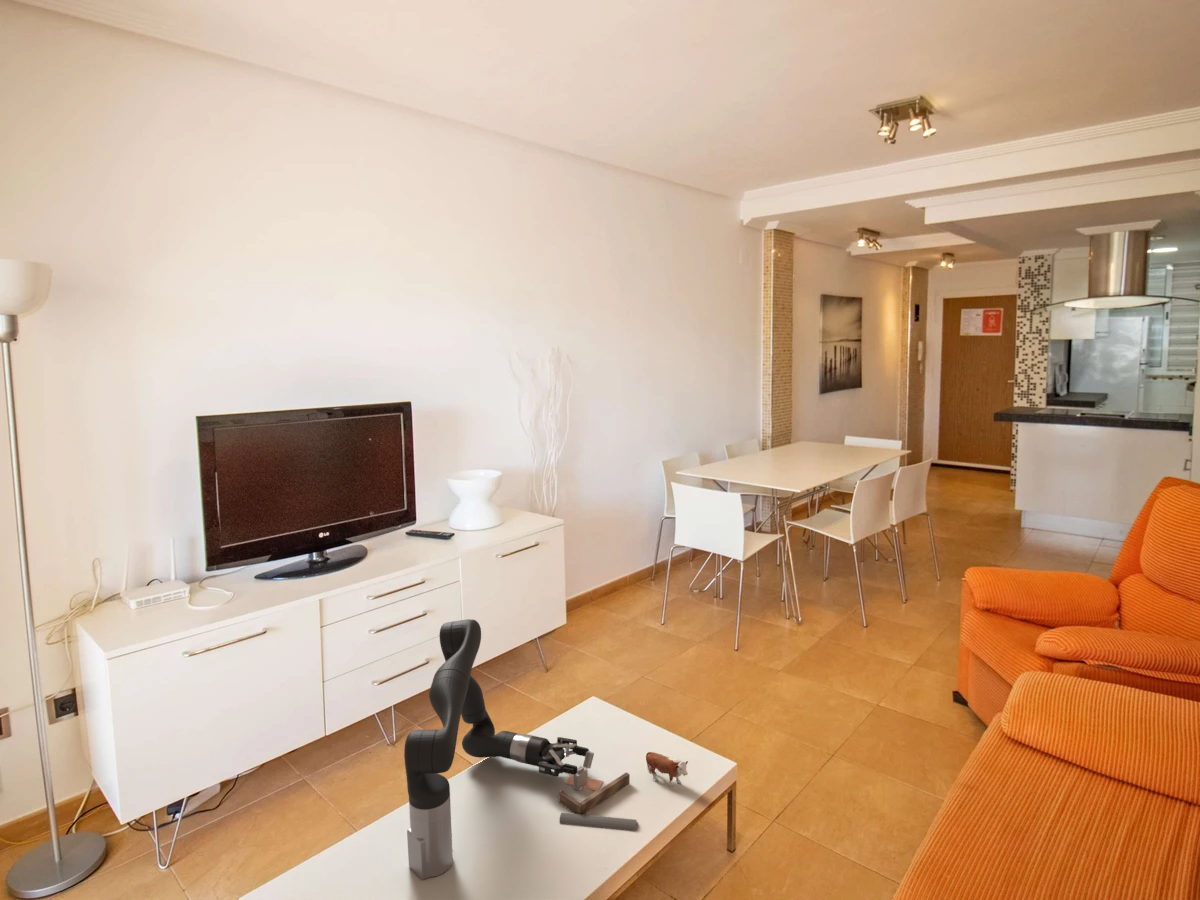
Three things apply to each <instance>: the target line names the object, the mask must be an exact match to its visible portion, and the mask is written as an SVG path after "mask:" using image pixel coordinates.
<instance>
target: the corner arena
mask: <svg viewBox="0 0 1200 900" xmlns="http://www.w3.org/2000/svg"><path fill="white" fill-rule="evenodd" d="M629 785H630V773H628V772H624V773H623V774H621V775H620V776H619V777H616V778H615V779H613V780H612V781H611V782H609V783H608V784H606V785H604V786H603V787H600V788H599V790H598V791H594V793H592V794H590V795H589V796H588V797H587V798H584V799H583V800H582V801H578V800H577V799H576V798H574V797H573V796H571V795H569V794H568V793H567V792H565V790H561V791H559V793H558V803H559V804H560V805H562V806H563V807H565V808H566V809H567V810H569V811H570V812H571V813H572V814H582V815H587V813H589V812H590V811H592V810H593V809H595V808H596V807H598V806H599V805H601V804H602V803H604V802H605V801H606V800H608V799H609V798H610V797H612V796H614V795H616V794H617V793H619V791H621V790H623V789H625V788H626V787H627V786H629Z"/></svg>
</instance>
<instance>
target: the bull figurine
mask: <svg viewBox="0 0 1200 900" xmlns="http://www.w3.org/2000/svg"><path fill="white" fill-rule="evenodd" d="M645 761H646V765H647V766H646V767H647V771H648V773H649V775H652V779H653V780H654V782H658V781H659V779H658V777H657V775H656V774H657V772H656V769H657V771H658V772H660V773H661V774H664V775H665V774H667V775H668V777H669V781H668V783H667V784H668V785H669V787H673V786H674V784H673V779H674V778H676V780H675V782H676V784H678V785H679V784H681V780H680V778H679V777H680V776H682V775H683V776H684V777H685V776H688V771H687V765H688V763H689V760H686V761H681V760H680V759H679V758H674V757H669V756H666V755H663V754H661V753H657V752H653V751H648V752H647V753H646V755H645Z"/></svg>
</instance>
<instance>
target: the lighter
mask: <svg viewBox="0 0 1200 900" xmlns="http://www.w3.org/2000/svg"><path fill="white" fill-rule="evenodd" d="M594 755H595V752H594V751H590V750H589V751H587V752H586V756H584V760H583V763H582V764H583V765H580V766H579V767H577V774H576V775H574V786H573V789H575V790H576V791H580V790H581V789H582V787H583V786H585V785H586V784H587V777H588V769H591V768H592V763H593V760H594V759H593V758H594Z"/></svg>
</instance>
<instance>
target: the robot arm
mask: <svg viewBox="0 0 1200 900" xmlns="http://www.w3.org/2000/svg"><path fill="white" fill-rule="evenodd" d="M438 635H439V645H440V649H441V652H442V655H443V658H444V660H445V662H443V664H441V665H440V666H439V668H438V669H437V671H436V672H435V673H434V676H433V678H432V682H431V685H430V688H429V692H428V694H429V695H428V699H429V702H430V704H431V707H432V708H433V710H434V712H435V714H436V715H437V717H438V718H439V720H440V721H441V724H442V726H443V727H442V728H438V729H413V730H412V731H410V732H409V733H408V734H407V736H406V738H405V743H404V749H403V750H404V751H403V752H404V754H403V756H404V766H405V774H406V787H407V794H408V804H409V805H408V809H409V824H410V827H409V829H407V830H406V835H407V836H406V837H407V854H408V867H409V868H410V869H411V870H412V871H413V872H414V873H415V874H416V876H418V878H420V880H422V881H423V880H425V879H427V878H435V877H438V876H440V875H442V874H443V873H445V872H447V871H448V870H449V868H450V867H451V866H452V864H453V860H454V858H453V853H454V850H453V833H452V813H451V812H452V810H451V807H452V806H451V790H450V789H451V788H450V787H451V786H450V782H449V780H448V779H447V778H446V777H445V776H444V775H442V774H443V773H447V772H448V771H449V770H450V769H451V767H452V765H453V763H454V759H455V752H456V745H457V740H458V735H459V733H458V732H459V726H460V720H461V718H462V721H463V722H464V723H465V724H468V725H470V724H472V727H471V729H469V730H468V732H466V734H465V735H464V736H463V738H462V740H461V746H462V749H463V751H464V752H465V753H466V754H468V755H469V756H471V757H474V758H480V759H481V758H499V757H501V758H503V759H504V758H505V759H509V760H512V761H515V762H517V763H520V764H526V765H529V766H533V767H538V772H539V773H540V774H544V775H548V776H550V777H551V776H552V777H555V778H557V777H559V776H560V774H564V773H565V774H568V775H571V774H574V775H576V774H577V768H578V766H577V765H575V764H574V765H573V764H570V763H565V762H562V761H563V760H564V759H565V758H567V757H570V756H571V755H577V756H582V757H585V756H586V752H587V751H590V750H589V748H588V747H583V746H580V745H578V740H577V739H572V738H568V737H567V738H566V737H563V736H558V737H556V738H557V739H556V742H554V743H551V742H550V740H549V739H547V738H545V737H540V736H536V735H532V734H529V733H528V734H527V733H517V732H513V731H508V730H502V731H499V732H497V733H496V730H495V725H494V723H493V720H492V719H491V717H490V715H489V713H488V711H487V710H486V709H487V708H486V703H485V699H484V694H483V691H482V688H481V686H480V684H479V683H478V681H477V680H476V679H475V678H474V677H473V676H472V675H471V674H472V670H473V666H474V663H475V660H476V657H477V654H478V652H479V649H480V646H481V642H482V629H481V625H480V623H479V621H477V620H476V619H468V618H467V619H462V620H455V621H454V620H453V621H448V622H444V623H443V624H442V625H441V627H440V629H439V634H438ZM552 770H554V771H552Z"/></svg>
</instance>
